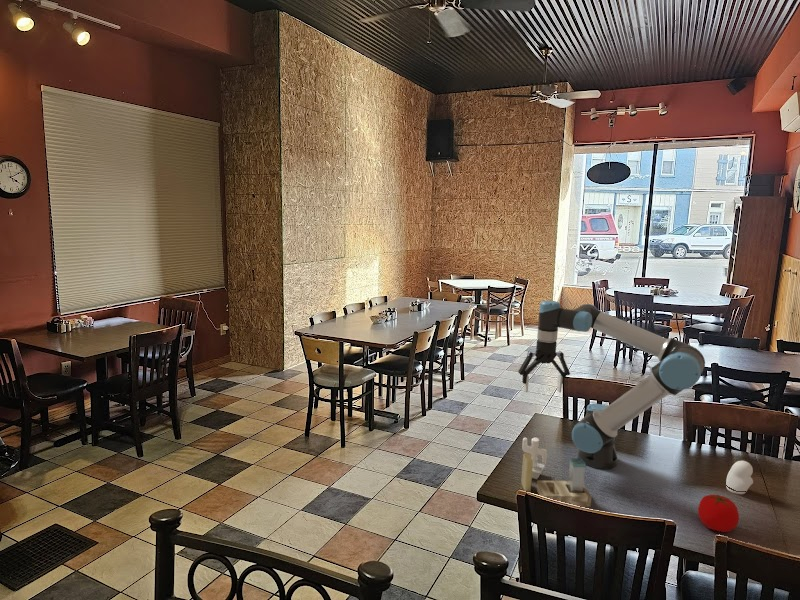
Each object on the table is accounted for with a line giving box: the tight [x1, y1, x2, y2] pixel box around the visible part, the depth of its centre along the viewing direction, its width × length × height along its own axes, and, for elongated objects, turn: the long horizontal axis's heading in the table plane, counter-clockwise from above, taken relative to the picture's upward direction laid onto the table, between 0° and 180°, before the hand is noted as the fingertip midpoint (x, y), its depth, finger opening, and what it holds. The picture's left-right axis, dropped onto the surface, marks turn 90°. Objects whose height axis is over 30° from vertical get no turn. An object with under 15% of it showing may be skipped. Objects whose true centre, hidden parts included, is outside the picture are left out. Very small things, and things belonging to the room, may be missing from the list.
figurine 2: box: [725, 460, 754, 495], centre depth 194 cm, size 7×8×12 cm
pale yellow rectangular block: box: [520, 452, 533, 493], centre depth 192 cm, size 2×6×12 cm, turn 0°
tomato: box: [697, 494, 740, 533], centre depth 172 cm, size 11×12×10 cm
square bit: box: [567, 457, 587, 493], centre depth 185 cm, size 4×4×14 cm
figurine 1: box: [521, 436, 548, 480], centre depth 201 cm, size 7×9×15 cm
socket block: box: [536, 479, 592, 508], centre depth 186 cm, size 16×10×4 cm, turn 90°
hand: (542, 391), depth 211 cm, fingers open, 13 cm apart
